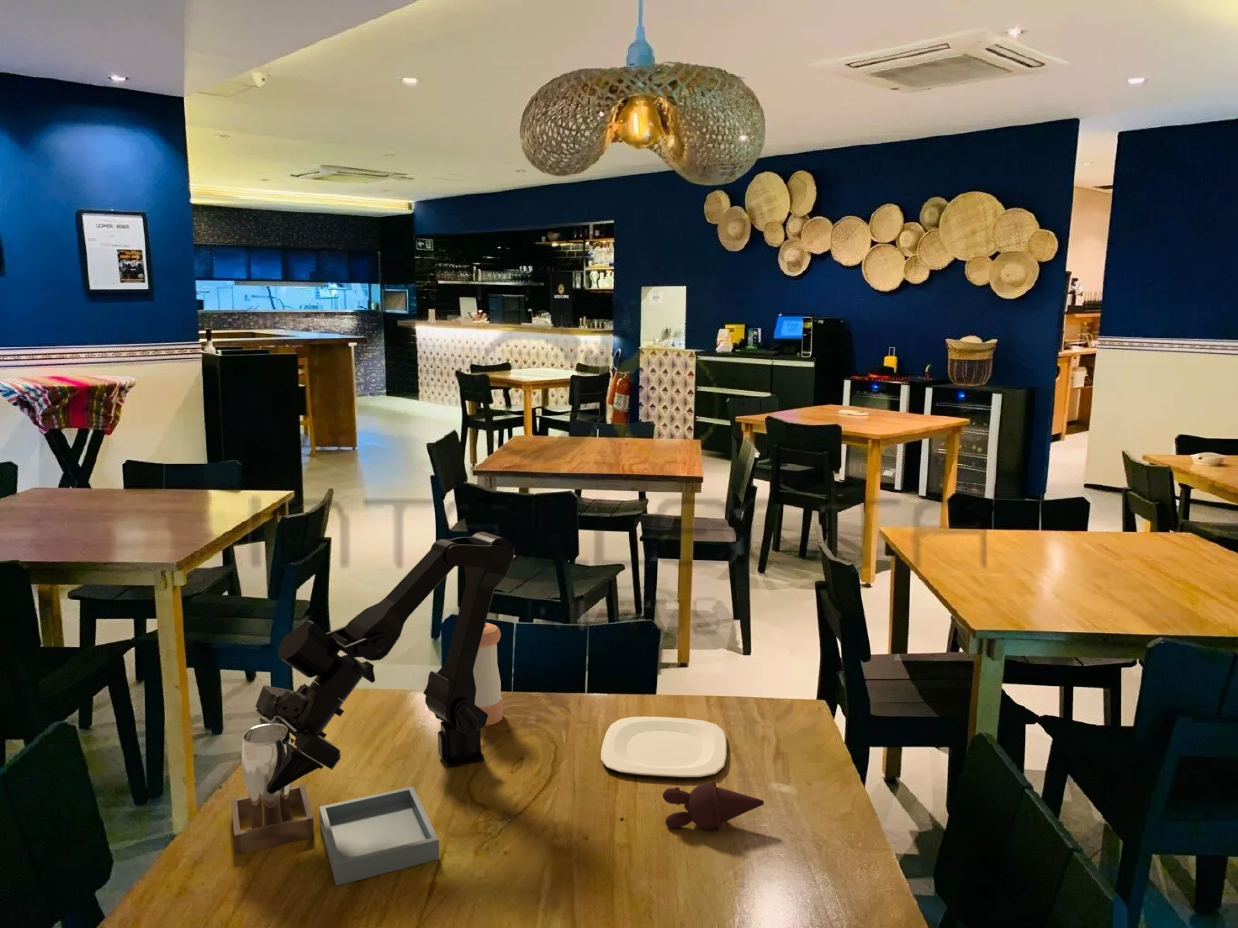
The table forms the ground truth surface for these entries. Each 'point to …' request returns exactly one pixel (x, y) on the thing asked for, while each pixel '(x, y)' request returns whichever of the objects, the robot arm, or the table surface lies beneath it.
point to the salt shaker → (488, 675)
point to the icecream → (708, 806)
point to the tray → (377, 835)
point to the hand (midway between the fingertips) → (259, 782)
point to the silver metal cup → (266, 772)
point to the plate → (664, 747)
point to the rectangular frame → (273, 832)
